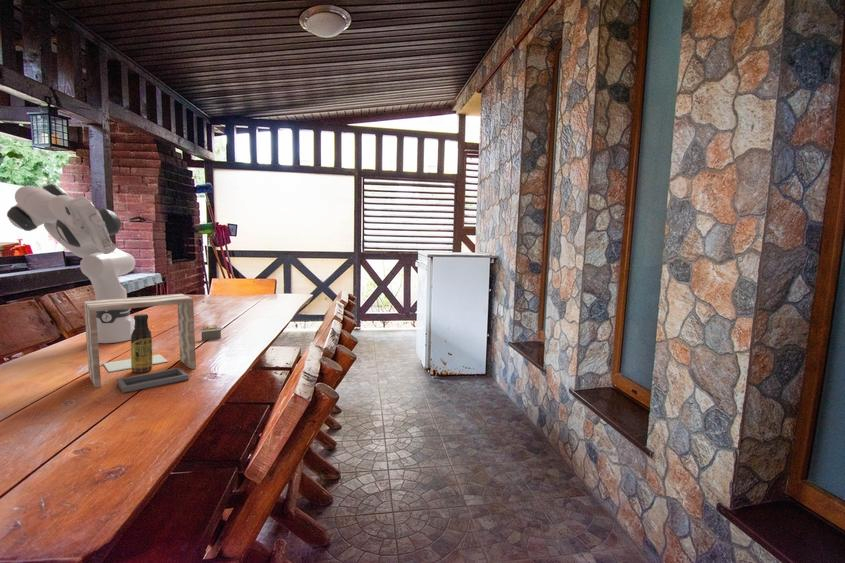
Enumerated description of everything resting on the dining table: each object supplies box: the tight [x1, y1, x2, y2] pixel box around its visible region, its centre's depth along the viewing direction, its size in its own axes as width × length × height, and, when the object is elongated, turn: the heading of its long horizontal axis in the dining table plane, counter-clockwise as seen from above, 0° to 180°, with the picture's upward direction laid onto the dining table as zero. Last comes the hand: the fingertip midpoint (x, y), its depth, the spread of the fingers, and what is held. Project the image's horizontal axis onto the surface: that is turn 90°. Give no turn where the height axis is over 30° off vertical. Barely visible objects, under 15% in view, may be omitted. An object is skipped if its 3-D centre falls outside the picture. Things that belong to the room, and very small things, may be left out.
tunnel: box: [83, 293, 197, 389], centre depth 148 cm, size 14×29×26 cm, turn 134°
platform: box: [198, 324, 224, 341], centre depth 196 cm, size 12×18×7 cm, turn 126°
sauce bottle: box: [130, 313, 153, 374], centre depth 150 cm, size 6×6×20 cm
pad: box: [102, 353, 169, 373], centre depth 159 cm, size 12×18×1 cm, turn 134°
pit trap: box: [116, 367, 189, 394], centre depth 140 cm, size 10×18×2 cm, turn 134°
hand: (108, 236), depth 144 cm, fingers open, 8 cm apart
